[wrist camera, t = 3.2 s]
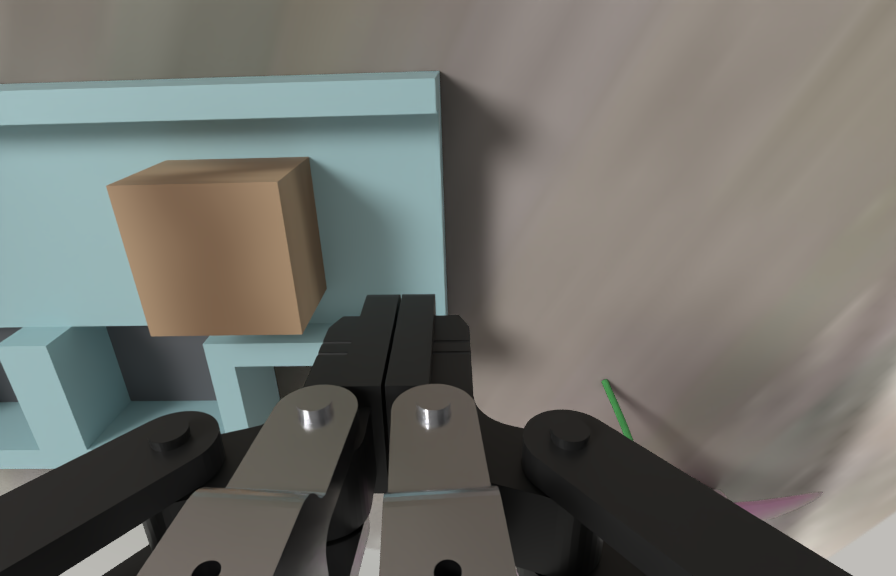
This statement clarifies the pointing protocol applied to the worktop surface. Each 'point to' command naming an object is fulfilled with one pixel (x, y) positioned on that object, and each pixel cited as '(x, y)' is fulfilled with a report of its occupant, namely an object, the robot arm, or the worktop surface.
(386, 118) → the box
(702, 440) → the worktop surface
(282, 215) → the walnut block
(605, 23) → the worktop surface
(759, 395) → the worktop surface
